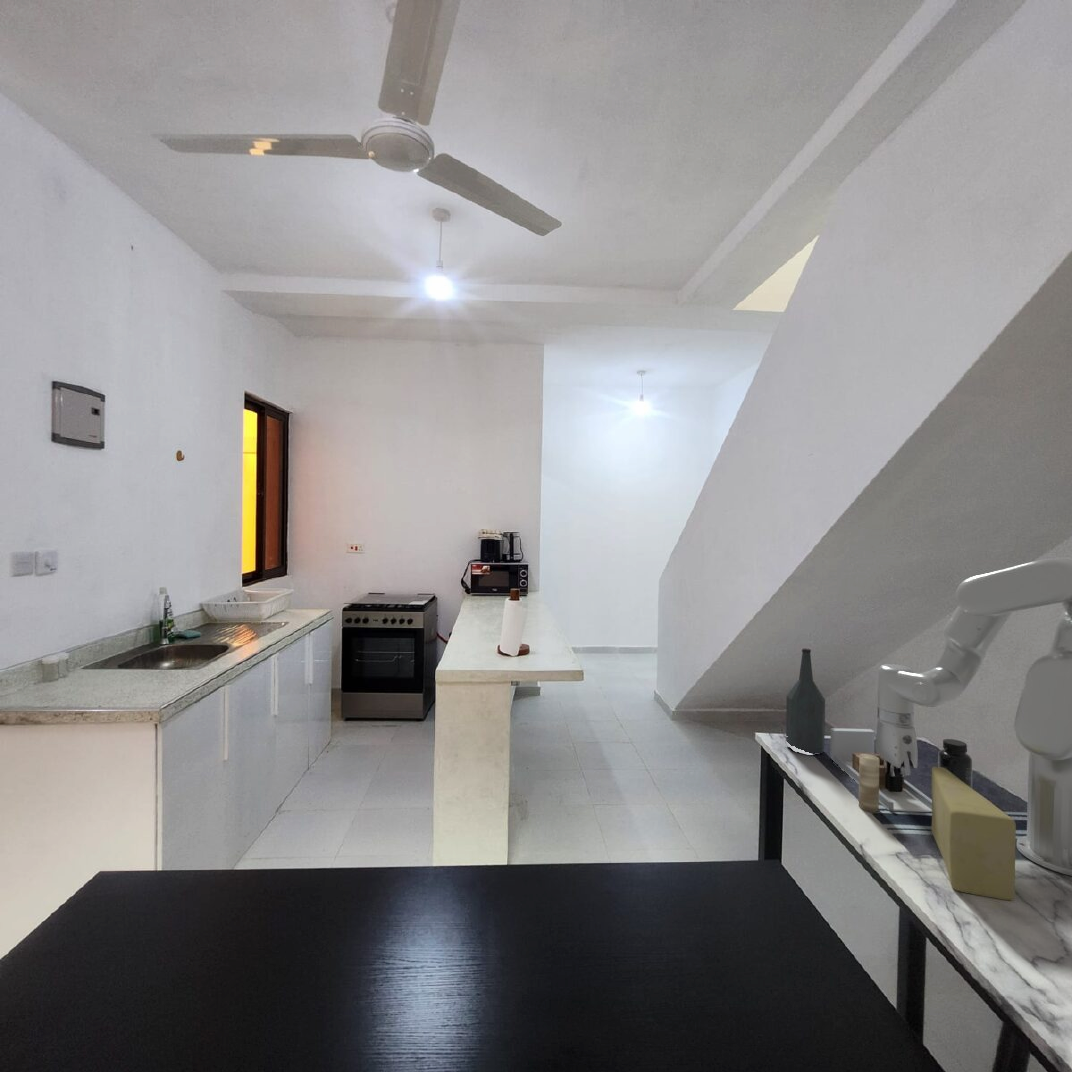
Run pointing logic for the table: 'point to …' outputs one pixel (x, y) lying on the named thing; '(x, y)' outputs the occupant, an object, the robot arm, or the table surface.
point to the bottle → (806, 711)
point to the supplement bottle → (956, 760)
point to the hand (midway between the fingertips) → (893, 790)
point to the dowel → (869, 782)
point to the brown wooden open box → (881, 768)
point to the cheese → (973, 838)
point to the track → (842, 753)
